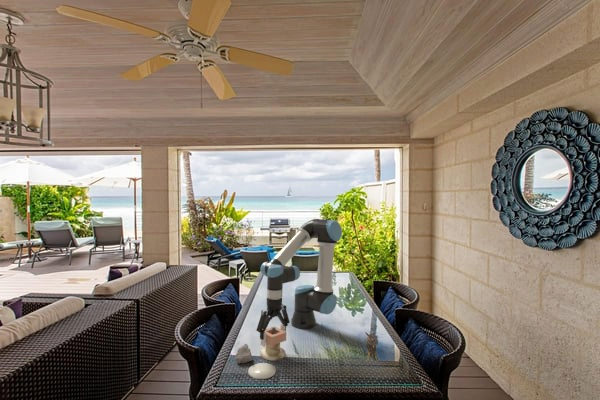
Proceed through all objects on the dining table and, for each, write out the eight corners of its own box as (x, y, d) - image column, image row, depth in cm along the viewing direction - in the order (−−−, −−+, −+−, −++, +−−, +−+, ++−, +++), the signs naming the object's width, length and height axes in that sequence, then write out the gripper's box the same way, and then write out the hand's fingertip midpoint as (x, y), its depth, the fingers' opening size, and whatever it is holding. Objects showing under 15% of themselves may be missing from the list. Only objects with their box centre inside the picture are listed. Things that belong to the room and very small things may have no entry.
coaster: (264, 361, 149) (264, 360, 149) (281, 372, 140) (281, 371, 140) (242, 370, 140) (242, 369, 140) (258, 382, 132) (258, 381, 132)
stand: (274, 346, 164) (275, 321, 164) (289, 355, 155) (290, 328, 155) (255, 353, 156) (256, 327, 156) (270, 363, 147) (271, 335, 147)
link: (274, 334, 162) (274, 326, 162) (286, 340, 155) (286, 332, 155) (260, 339, 156) (260, 331, 156) (271, 345, 149) (271, 337, 149)
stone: (234, 365, 145) (235, 352, 145) (235, 355, 154) (235, 343, 154) (252, 364, 146) (253, 351, 146) (252, 354, 156) (252, 342, 156)
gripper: (287, 291, 166) (286, 332, 166) (249, 300, 150) (248, 346, 150) (297, 294, 161) (296, 337, 161) (259, 304, 145) (257, 352, 145)
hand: (273, 341), depth 156 cm, fingers open, 11 cm apart
